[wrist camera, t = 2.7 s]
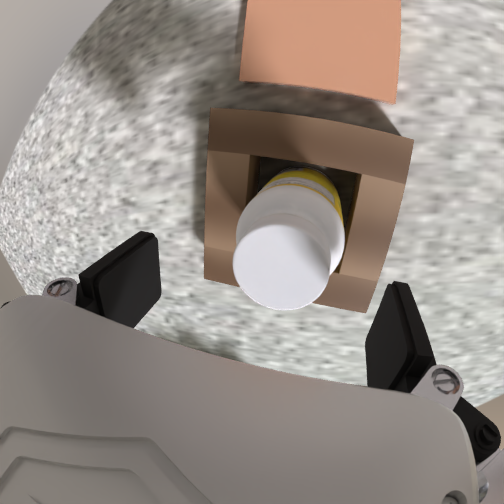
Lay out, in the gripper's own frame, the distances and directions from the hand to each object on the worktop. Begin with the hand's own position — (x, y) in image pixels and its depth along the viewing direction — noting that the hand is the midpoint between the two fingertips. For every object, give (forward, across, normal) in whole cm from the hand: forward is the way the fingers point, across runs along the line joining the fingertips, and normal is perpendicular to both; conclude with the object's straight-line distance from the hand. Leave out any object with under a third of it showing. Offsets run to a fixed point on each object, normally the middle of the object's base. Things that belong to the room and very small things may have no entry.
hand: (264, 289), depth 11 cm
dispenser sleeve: (+11, 0, -1) cm, 11 cm away
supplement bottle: (+11, 0, -1) cm, 11 cm away
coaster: (+10, 0, -14) cm, 17 cm away
